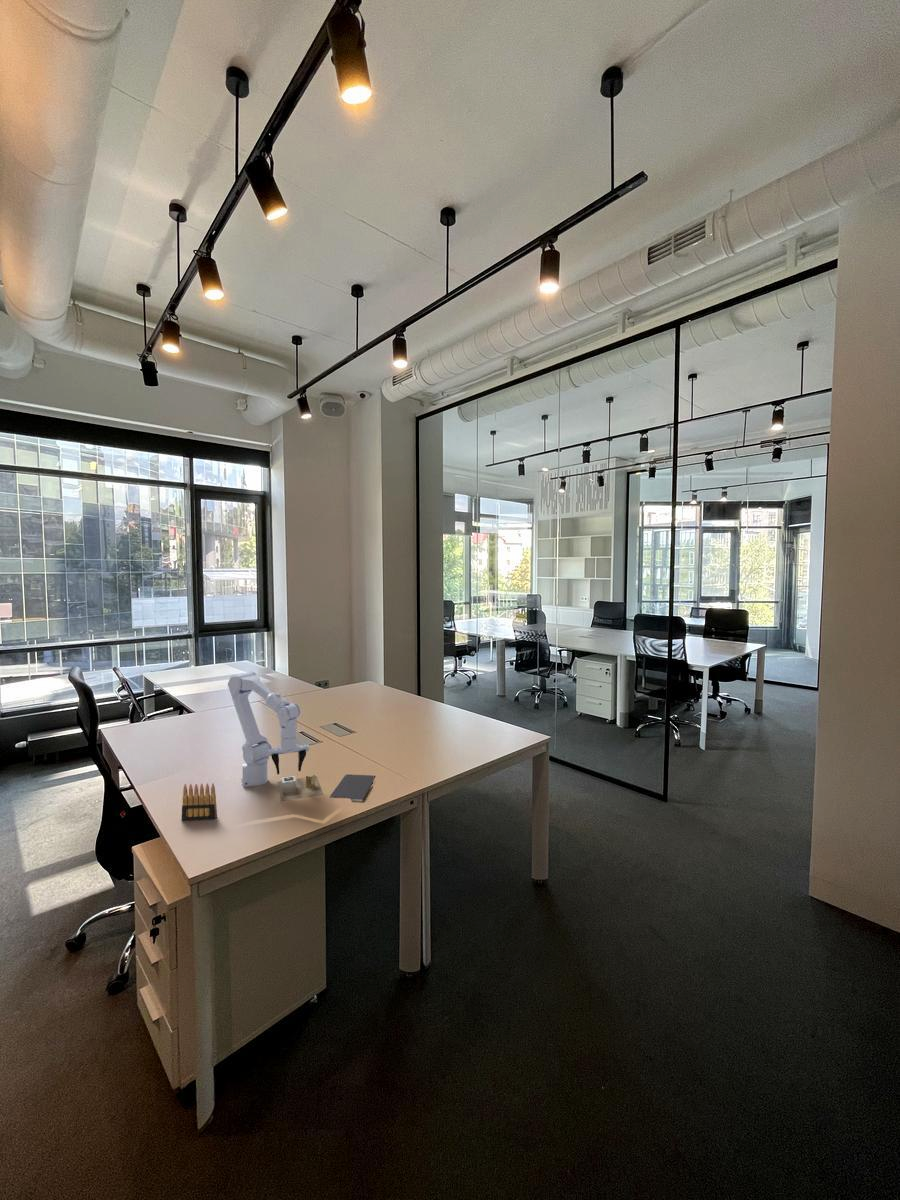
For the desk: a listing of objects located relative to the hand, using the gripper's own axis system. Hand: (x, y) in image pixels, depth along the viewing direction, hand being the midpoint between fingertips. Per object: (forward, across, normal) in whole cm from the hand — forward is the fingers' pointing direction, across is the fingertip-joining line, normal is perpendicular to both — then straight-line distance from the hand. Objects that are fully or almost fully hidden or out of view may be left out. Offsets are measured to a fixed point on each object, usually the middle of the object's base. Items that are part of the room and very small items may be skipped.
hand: (288, 771), depth 183 cm
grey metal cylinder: (+7, 0, 0) cm, 7 cm away
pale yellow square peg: (+7, +8, 0) cm, 10 cm away
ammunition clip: (+8, -30, -10) cm, 32 cm away
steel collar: (+7, 0, 0) cm, 7 cm away
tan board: (+8, +4, 0) cm, 9 cm away
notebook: (+9, +23, -6) cm, 26 cm away
